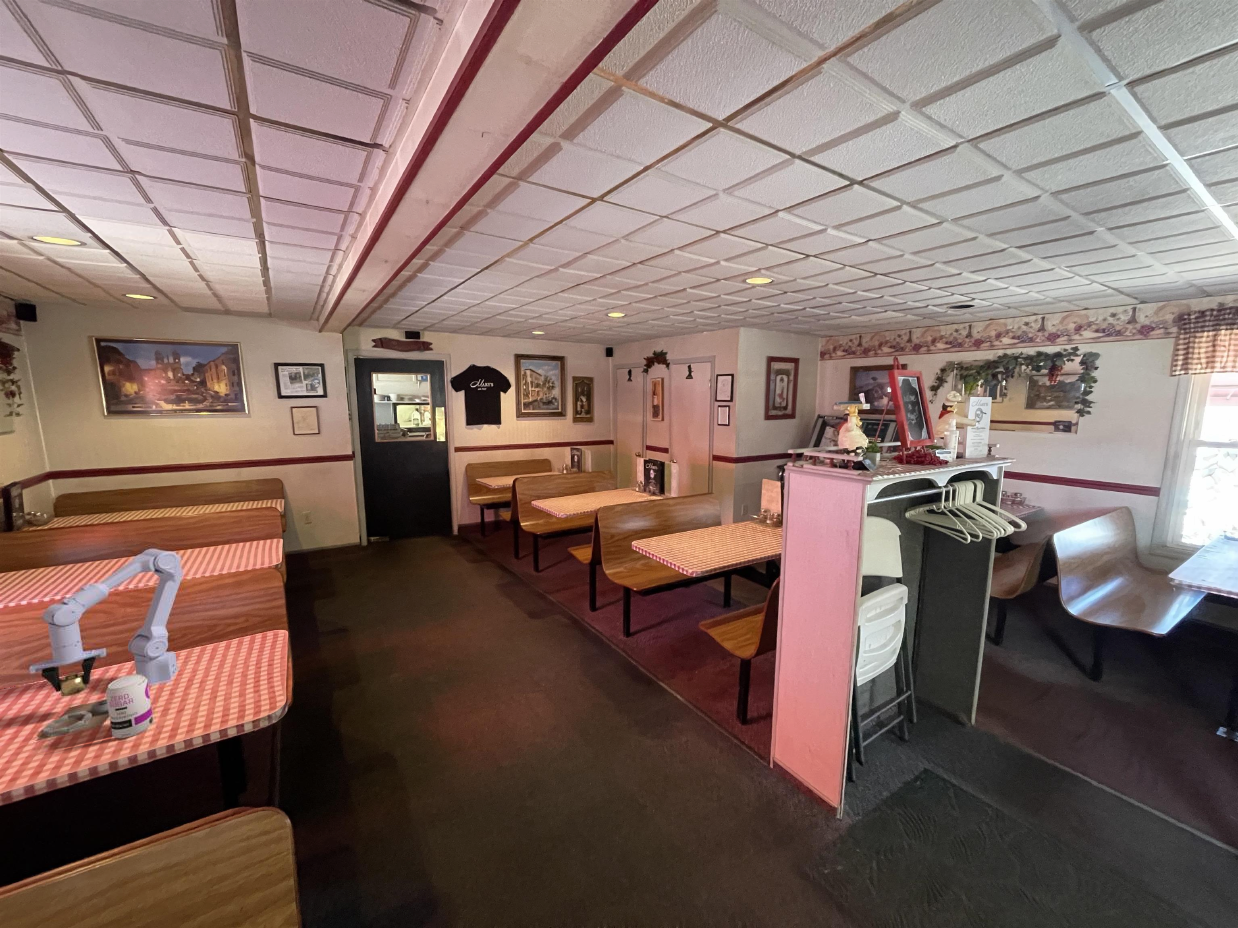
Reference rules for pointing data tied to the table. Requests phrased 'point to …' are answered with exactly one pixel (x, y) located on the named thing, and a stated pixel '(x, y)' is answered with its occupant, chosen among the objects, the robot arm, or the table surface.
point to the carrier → (77, 719)
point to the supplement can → (129, 706)
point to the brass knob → (72, 684)
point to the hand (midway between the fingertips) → (73, 686)
